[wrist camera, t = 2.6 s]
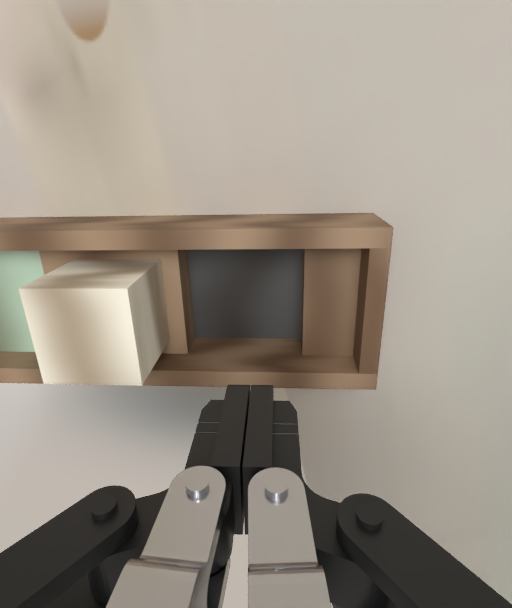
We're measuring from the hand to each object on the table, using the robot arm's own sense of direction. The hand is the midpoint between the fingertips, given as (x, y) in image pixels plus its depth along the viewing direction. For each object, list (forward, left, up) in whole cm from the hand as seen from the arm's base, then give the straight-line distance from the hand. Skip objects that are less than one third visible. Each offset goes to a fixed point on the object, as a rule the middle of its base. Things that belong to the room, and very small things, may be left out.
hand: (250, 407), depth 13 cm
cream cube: (+8, 0, -10) cm, 13 cm away
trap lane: (+12, 0, -13) cm, 17 cm away
